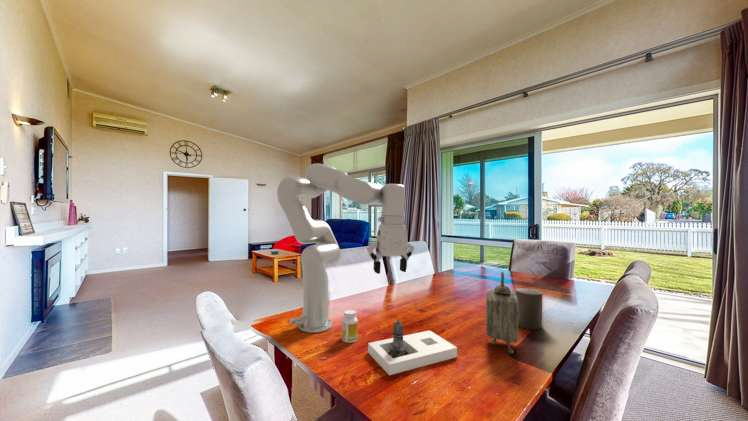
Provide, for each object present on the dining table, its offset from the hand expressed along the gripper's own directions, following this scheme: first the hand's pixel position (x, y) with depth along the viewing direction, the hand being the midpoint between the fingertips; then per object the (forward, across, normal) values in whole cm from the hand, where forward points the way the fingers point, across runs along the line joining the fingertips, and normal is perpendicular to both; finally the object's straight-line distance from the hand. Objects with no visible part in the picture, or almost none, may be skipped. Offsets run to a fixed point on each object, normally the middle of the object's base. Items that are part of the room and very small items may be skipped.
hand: (390, 271), depth 98 cm
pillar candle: (+24, +60, -6) cm, 65 cm away
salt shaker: (+25, -1, -9) cm, 26 cm away
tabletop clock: (+24, +36, -15) cm, 45 cm away
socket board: (+24, +4, -9) cm, 26 cm away
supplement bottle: (+25, -10, +8) cm, 29 cm away
